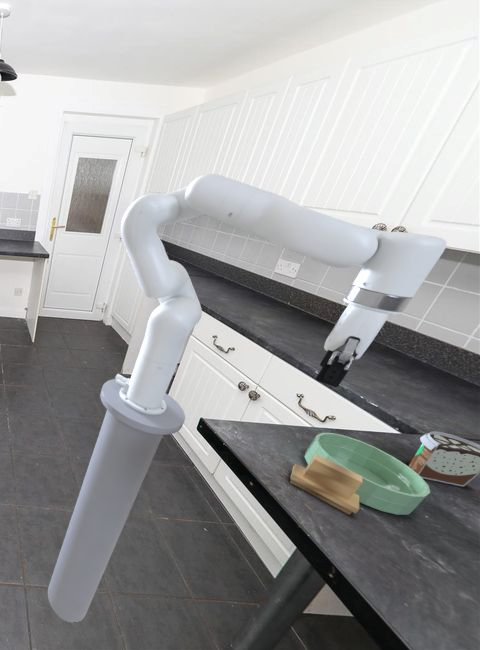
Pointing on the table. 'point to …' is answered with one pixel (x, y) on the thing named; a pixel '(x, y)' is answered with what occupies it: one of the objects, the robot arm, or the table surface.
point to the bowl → (373, 473)
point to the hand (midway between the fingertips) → (327, 375)
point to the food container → (447, 459)
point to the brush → (329, 483)
